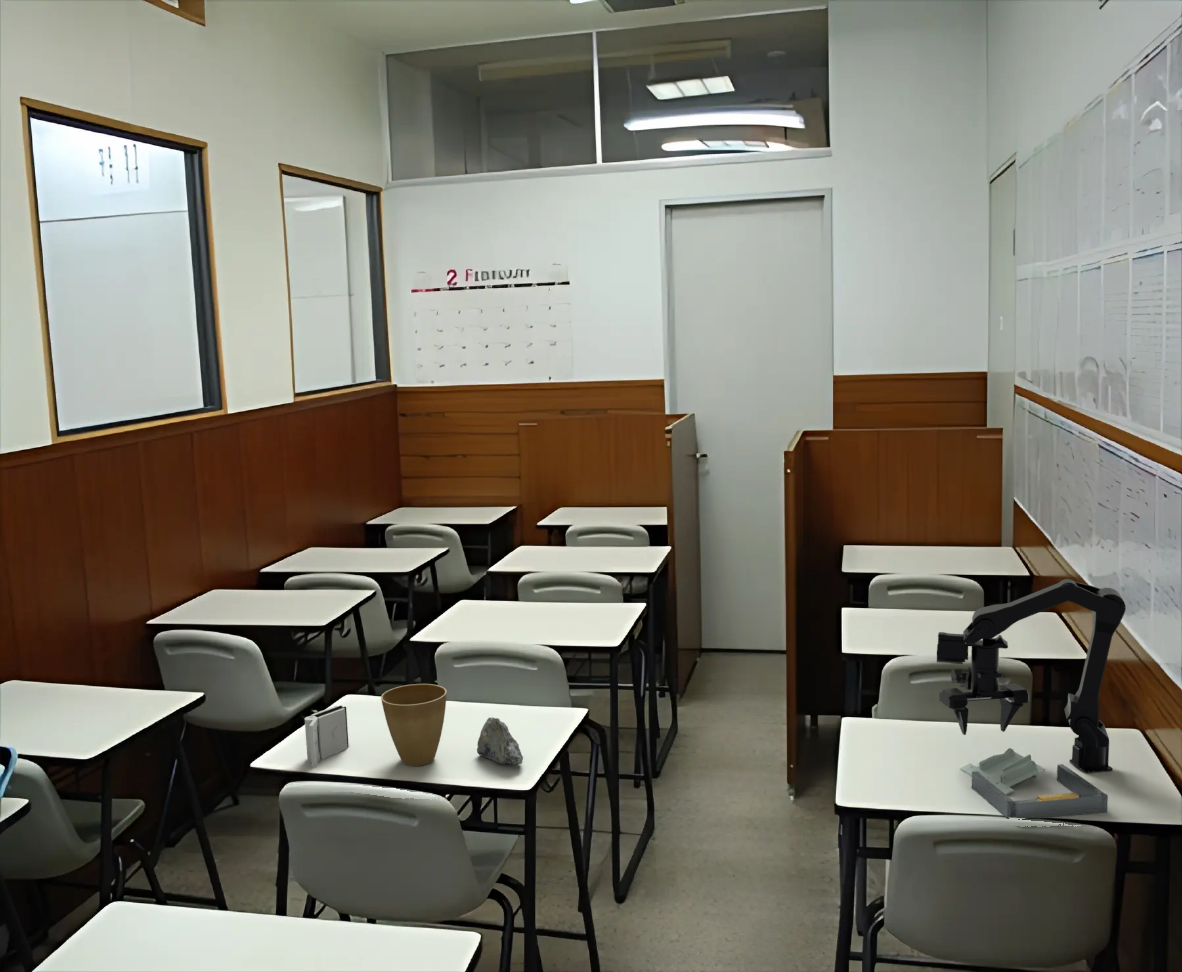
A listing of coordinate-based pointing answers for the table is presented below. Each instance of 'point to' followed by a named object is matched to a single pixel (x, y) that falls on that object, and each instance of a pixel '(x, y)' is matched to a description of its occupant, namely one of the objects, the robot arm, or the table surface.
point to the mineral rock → (498, 743)
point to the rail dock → (1046, 798)
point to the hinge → (326, 733)
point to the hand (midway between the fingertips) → (983, 732)
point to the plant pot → (415, 720)
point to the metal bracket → (1005, 769)
